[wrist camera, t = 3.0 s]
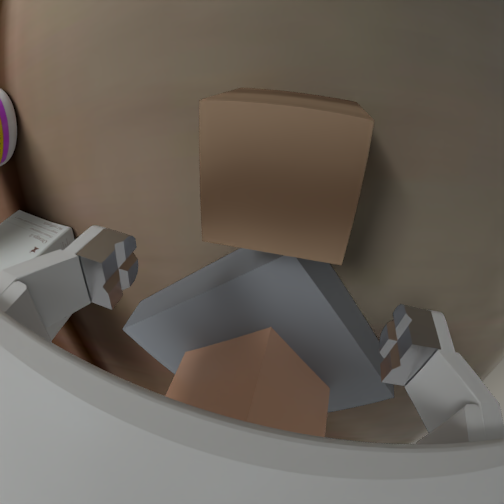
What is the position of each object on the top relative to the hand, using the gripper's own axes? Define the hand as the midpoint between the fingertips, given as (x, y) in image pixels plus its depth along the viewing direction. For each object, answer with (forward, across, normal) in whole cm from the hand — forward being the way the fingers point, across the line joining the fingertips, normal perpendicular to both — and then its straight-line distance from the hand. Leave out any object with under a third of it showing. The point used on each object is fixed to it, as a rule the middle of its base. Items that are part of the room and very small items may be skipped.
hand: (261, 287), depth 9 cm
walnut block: (+7, 0, -2) cm, 7 cm away
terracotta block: (+4, -1, +11) cm, 12 cm away
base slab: (+7, -1, +11) cm, 13 cm away
